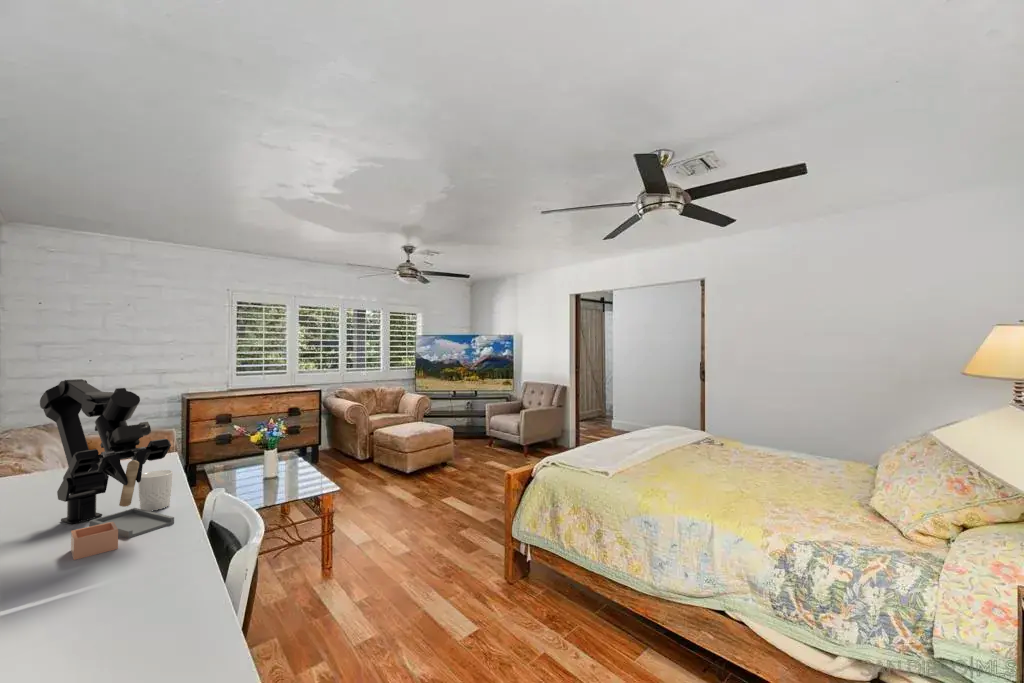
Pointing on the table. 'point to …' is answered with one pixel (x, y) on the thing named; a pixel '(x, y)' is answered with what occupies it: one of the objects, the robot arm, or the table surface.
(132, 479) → the birch dowel
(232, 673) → the table surface
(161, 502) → the white cup
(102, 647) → the table surface
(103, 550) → the terracotta box
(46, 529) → the table surface
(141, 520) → the slate tray
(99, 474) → the robot arm
